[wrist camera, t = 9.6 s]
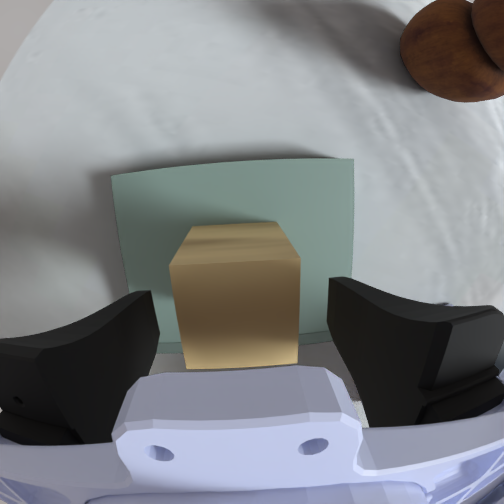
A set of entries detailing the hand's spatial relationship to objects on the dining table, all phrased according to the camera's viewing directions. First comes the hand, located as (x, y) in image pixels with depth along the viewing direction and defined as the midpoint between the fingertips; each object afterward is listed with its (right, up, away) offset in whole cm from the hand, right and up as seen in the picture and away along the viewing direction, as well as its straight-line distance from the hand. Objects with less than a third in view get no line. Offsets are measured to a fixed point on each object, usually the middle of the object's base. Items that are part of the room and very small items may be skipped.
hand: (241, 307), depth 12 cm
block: (0, +2, +4) cm, 5 cm away
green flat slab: (-1, +2, +7) cm, 8 cm away
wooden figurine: (+13, +16, +4) cm, 21 cm away
